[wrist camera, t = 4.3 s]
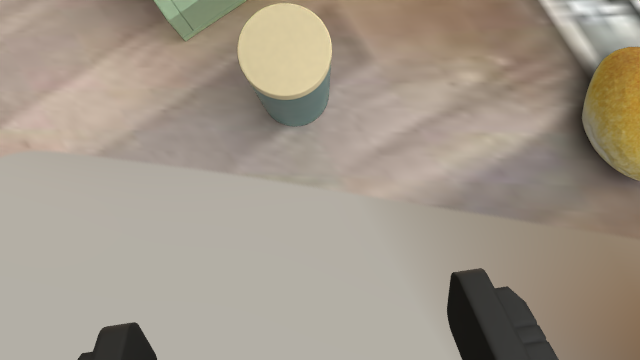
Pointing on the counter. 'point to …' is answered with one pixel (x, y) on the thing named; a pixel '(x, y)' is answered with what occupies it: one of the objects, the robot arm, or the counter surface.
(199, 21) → the grid
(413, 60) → the counter surface
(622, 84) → the bread roll
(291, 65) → the teal cream-capped cylinder
